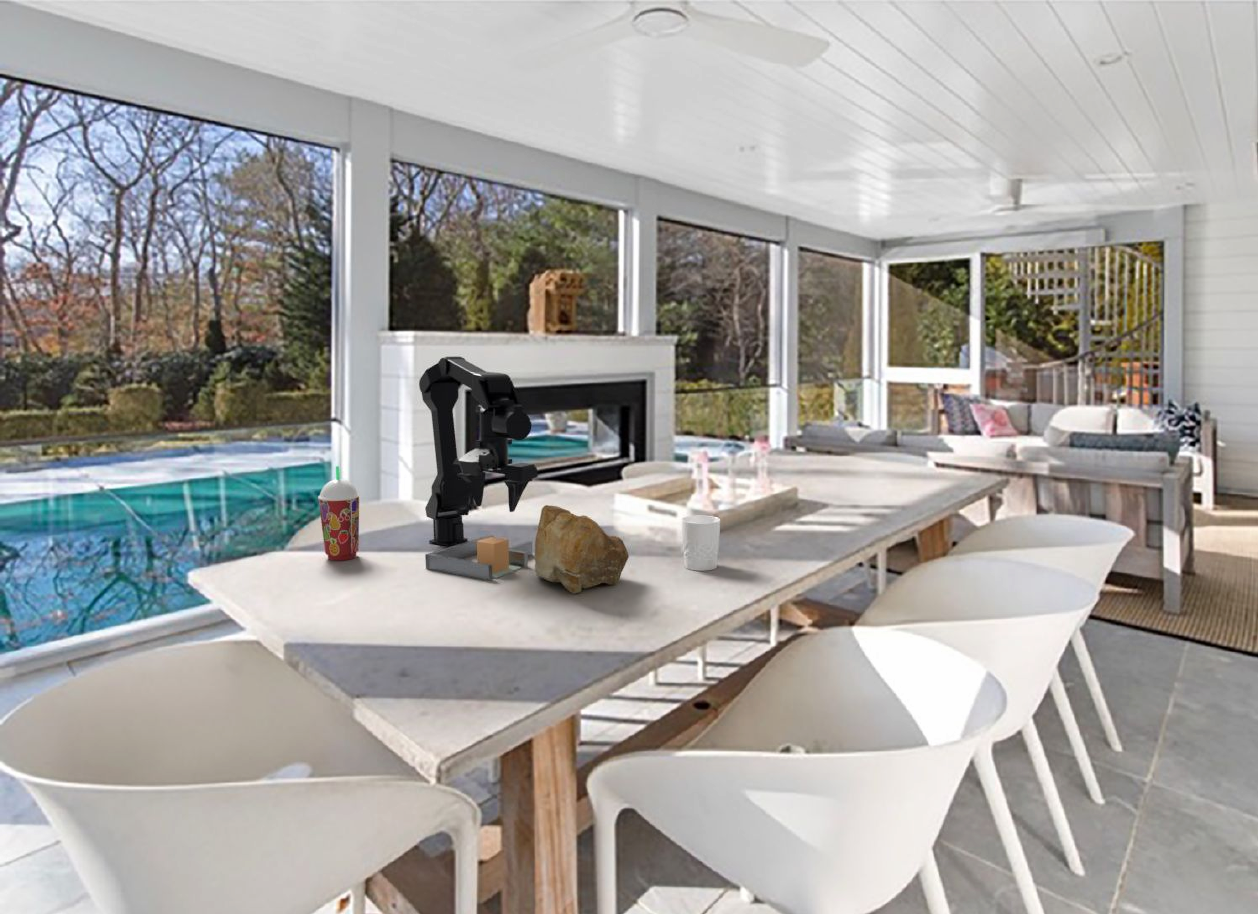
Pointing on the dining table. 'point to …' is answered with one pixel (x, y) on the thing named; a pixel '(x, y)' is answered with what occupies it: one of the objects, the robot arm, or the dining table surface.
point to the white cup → (700, 542)
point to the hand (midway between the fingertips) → (495, 508)
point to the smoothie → (340, 518)
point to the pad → (506, 571)
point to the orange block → (494, 553)
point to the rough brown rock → (576, 551)
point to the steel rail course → (454, 564)
